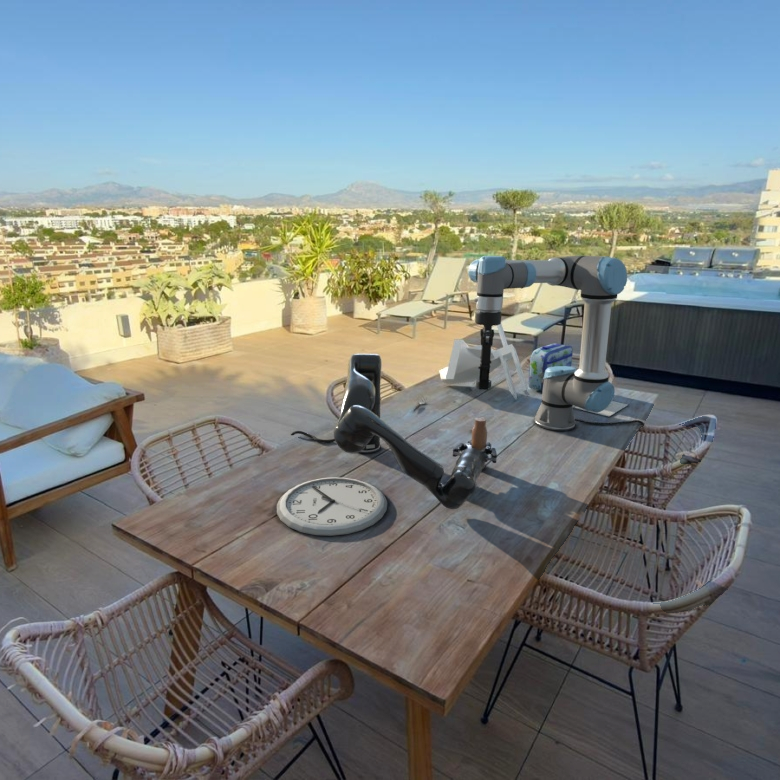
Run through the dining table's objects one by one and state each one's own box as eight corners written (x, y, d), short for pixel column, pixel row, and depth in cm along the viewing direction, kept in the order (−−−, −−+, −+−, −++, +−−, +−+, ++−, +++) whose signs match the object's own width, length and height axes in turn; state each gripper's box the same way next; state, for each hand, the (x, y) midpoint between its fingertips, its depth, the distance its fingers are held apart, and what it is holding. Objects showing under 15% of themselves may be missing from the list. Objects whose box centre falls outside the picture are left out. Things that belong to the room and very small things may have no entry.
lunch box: (544, 395, 239) (549, 351, 233) (524, 390, 247) (528, 347, 240) (571, 384, 257) (577, 343, 251) (552, 380, 264) (556, 339, 258)
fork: (410, 411, 216) (410, 407, 215) (421, 400, 230) (421, 396, 229) (416, 412, 215) (416, 408, 214) (427, 401, 229) (427, 396, 228)
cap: (474, 387, 158) (474, 381, 158) (477, 383, 163) (477, 377, 162) (489, 389, 157) (490, 383, 156) (492, 385, 161) (492, 379, 160)
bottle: (484, 463, 170) (487, 417, 165) (485, 470, 165) (488, 422, 160) (469, 462, 170) (472, 416, 165) (469, 469, 166) (473, 421, 161)
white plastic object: (461, 429, 252) (437, 405, 227) (444, 352, 274) (420, 323, 250) (535, 404, 240) (518, 377, 215) (510, 326, 262) (492, 293, 237)
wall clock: (392, 527, 129) (268, 531, 127) (391, 533, 130) (269, 537, 127) (383, 473, 158) (282, 475, 155) (383, 478, 158) (282, 480, 156)
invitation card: (608, 416, 214) (573, 407, 224) (608, 416, 214) (573, 408, 224) (628, 404, 229) (594, 396, 238) (628, 405, 229) (594, 397, 238)
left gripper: (445, 472, 156) (457, 451, 171) (493, 481, 152) (501, 458, 167) (446, 449, 154) (459, 429, 169) (495, 457, 149) (503, 436, 165)
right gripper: (475, 305, 162) (471, 378, 169) (475, 314, 145) (470, 394, 152) (500, 306, 160) (495, 379, 167) (503, 315, 144) (496, 396, 151)
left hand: (480, 443), depth 168 cm, fingers closed on bottle, 4 cm apart
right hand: (483, 386), depth 160 cm, fingers closed on cap, 4 cm apart
